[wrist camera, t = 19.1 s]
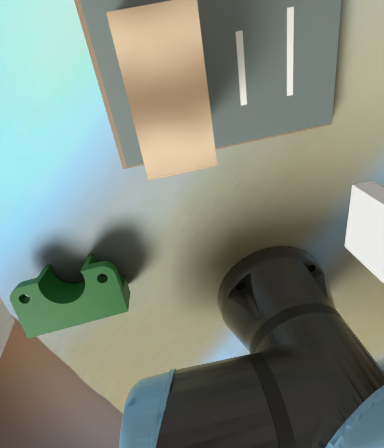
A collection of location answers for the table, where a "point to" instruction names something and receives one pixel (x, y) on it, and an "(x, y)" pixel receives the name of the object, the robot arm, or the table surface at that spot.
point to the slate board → (236, 67)
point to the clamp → (70, 298)
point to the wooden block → (166, 85)
